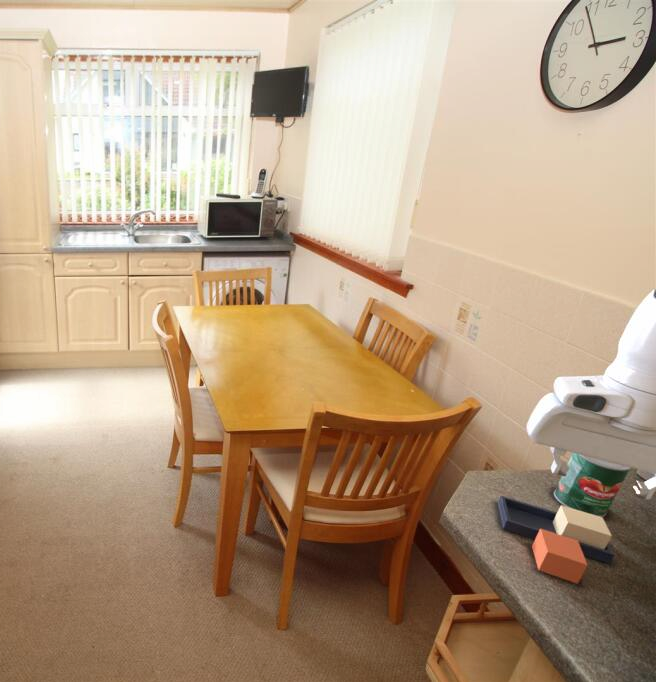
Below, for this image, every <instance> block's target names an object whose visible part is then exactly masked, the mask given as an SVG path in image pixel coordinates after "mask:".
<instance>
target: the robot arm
mask: <svg viewBox="0 0 656 682" xmlns="http://www.w3.org/2000/svg"><path fill="white" fill-rule="evenodd" d="M525 428H526V433H527V435H528V437H529V438H530V440H531V441H532V442H533V443H534V444H539V445H542V446H546V447H549V448H550V452H551V454H552V455H551V456H552V458H553V461H552V464H551V467H550V471H551V473H552V474H553V475H557V476H561V477H562V476H564V477H565V476H566V472H568V470H569V466H568V465H567V464H568V462H567V461H564V460H562V459H561V457H560V456H562V457H565V456H566V454H567V453H568V452H569V453H572V454H573V453H577V454H581V455H585V456H588V457H592V458H596V459H600V460H604V461H608V462H612V463H615V464H619V465H623V466H627V467H631V469H634V470H639V471H643V472H646V473H651V474H653V475H654V476H653V477H651V478H649V479H648V480H646V481H644V482H643V481H639V480H636V481H635V482H634V486H632V489H631V492H632V494H633V496H634V497H636V498H639V499H640V498H641V499H644V500H647V501H650V500H651V499H652V498H653V495H654V494H655V492H656V288H655V289H653V290H652V291H651V292H650V293H648V294H647V295H646V296H645V297H644V299H642V301H641V303H640V304H639V305H638V306H637V308H636V309H635V310H634V312H633V314H632V316H631V317H630V319H629V321H628V323H627V324H626V326H625V328H624V331H623V333H622V334H621V336H620V339H619V342H618V345H617V354H616V357H615V359H614V360H613V362H612V363H611V364H609V365H608V366H607V368H606V369H605V371H604V374H600V375H599V374H598V375H581V376H580V375H577V376H576V375H574V376H573V375H572V376H570V375H569V376H558V377H556V378H555V380H554V382H553V392H549V393H547V394H545V395H544V396H543V397H541V399H540V400H539V401H538V403H537V405H536V406H535V407H534V409H533V410H532V412H531V414H530V417H529V418H528V420H527V422H526V427H525Z"/></svg>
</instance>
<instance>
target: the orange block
mask: <svg viewBox="0 0 656 682" xmlns="http://www.w3.org/2000/svg"><path fill="white" fill-rule="evenodd" d="M531 549H532V552H533V555H534V559H535V562H536V566H537V569H538V571H540V572H541V573H542V572H543V573H546V574H548V575H550V576H554V577H557V578H559V579H563V580H566V581H568V582H571V583H574V584H577V585H578V584H579V583H580V580H581V578H582V577H583V576H584V573H585V572H586V569H587V567H588V566H589V565H588V562H587V559H586V556H584V555H583V552H582V550H581V547H580V545H579V542H578V540H575V539H572V538H568V537H565V536H562V535H559V534H556V533H553V532H549V531H546V530H543V529H540V530H539V532H538V535H537V537H536V539H534V541H533V543H532V545H531Z"/></svg>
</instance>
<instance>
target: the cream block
mask: <svg viewBox="0 0 656 682" xmlns="http://www.w3.org/2000/svg"><path fill="white" fill-rule="evenodd" d="M556 512H557V514H556V516H555V518H554V521H553V525H554V528H555V530H556V533H557V534H559V535H562V536H565V537H568V538H572V539H575V540H578V542H582V543H585V544H588V545H591V546H594V547H597V548H600V549H605V548H606V546H607V544H608V543H610V542H609V541H611V538H612V537H613V535H612V533H611V531H610V530H609V527H608V525H607V523H606V521H605V520H604V517H599V516H596V515H593V514H589V513H586V512H582V511H579V510H576V509H572V508H569V507H566V506H564V505H563V504H561V505H560V506H559V508H558V510H557V511H556Z"/></svg>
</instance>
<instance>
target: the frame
mask: <svg viewBox="0 0 656 682" xmlns="http://www.w3.org/2000/svg"><path fill="white" fill-rule="evenodd" d="M497 508H498V512H499V516H500V522H501V526H502V530H504V531H507V532H511V533H514V534H517V535H520V536H523V537H525V538H528V539H532V540H535V539H536V537H537V535H538V532H539V530H540V529H543V530H546V531H549V532H553V533H556V530H555V528H554V525H553V521H554V518H555V516H556V514H557V512H558V511H554V510H551V509H547V508H544V507H540V506H537V505H534V504H530V503H527V502H523V501H520V500H517V499H514V498H510V497H507V496H503V495H500V496H499V498H498V501H497ZM556 534H557V533H556ZM579 545H580V547H581V550H582V552H583V555H584V557H587V558H590V559H594V560H596V561H600V562H603V563H606V564H609V565H610V564H611V563H612V560H613V558H614V556H615V553H614V551H613V549H612V547H611V544H610V542H608V544H607V546H606V548H605V549H600V548H597V547H594V546H591V545H588V544H585V543H582V542H579Z"/></svg>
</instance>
